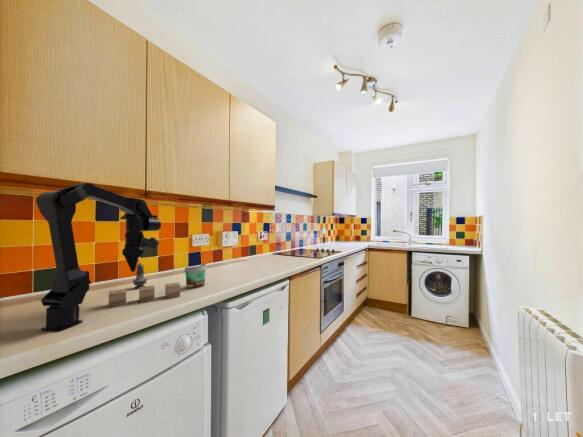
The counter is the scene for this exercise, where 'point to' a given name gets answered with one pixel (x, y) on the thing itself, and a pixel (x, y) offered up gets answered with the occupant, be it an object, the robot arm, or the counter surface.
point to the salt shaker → (139, 277)
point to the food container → (195, 276)
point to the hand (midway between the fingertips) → (133, 271)
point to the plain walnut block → (146, 294)
